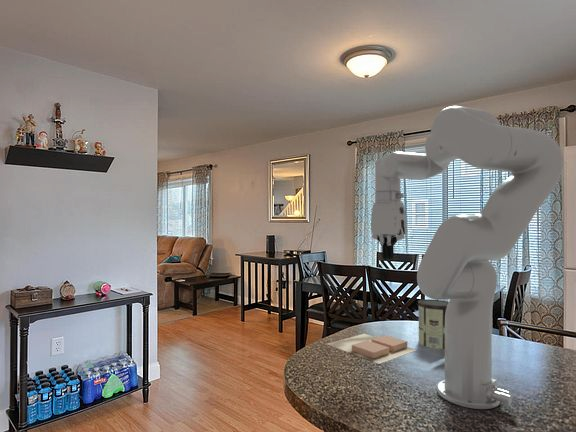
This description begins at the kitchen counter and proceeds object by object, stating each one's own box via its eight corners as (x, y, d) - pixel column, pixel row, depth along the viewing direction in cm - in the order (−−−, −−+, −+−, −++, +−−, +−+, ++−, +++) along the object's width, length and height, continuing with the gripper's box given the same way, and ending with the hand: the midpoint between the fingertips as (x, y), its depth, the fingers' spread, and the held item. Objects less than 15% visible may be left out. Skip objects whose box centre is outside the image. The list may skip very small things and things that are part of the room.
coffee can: (445, 342, 120) (445, 299, 121) (459, 353, 110) (459, 306, 110) (413, 341, 121) (413, 298, 121) (424, 352, 110) (424, 305, 111)
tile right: (385, 340, 118) (407, 347, 111) (371, 345, 113) (393, 352, 107) (385, 335, 118) (407, 341, 111) (371, 339, 113) (393, 346, 107)
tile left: (367, 346, 112) (389, 353, 106) (351, 351, 108) (373, 359, 101) (367, 340, 112) (389, 347, 106) (351, 344, 108) (373, 352, 101)
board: (417, 354, 109) (417, 349, 109) (379, 368, 98) (379, 363, 98) (364, 337, 125) (364, 333, 125) (326, 347, 114) (326, 344, 114)
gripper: (416, 197, 109) (417, 259, 108) (374, 200, 120) (374, 256, 120) (402, 195, 104) (402, 261, 103) (360, 199, 115) (360, 257, 115)
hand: (387, 258), depth 112 cm, fingers closed
